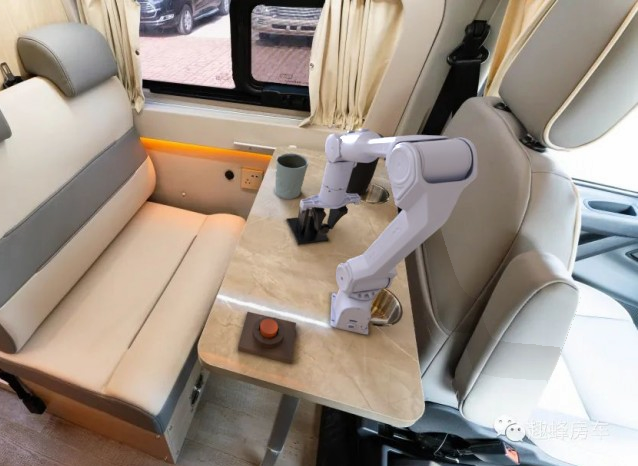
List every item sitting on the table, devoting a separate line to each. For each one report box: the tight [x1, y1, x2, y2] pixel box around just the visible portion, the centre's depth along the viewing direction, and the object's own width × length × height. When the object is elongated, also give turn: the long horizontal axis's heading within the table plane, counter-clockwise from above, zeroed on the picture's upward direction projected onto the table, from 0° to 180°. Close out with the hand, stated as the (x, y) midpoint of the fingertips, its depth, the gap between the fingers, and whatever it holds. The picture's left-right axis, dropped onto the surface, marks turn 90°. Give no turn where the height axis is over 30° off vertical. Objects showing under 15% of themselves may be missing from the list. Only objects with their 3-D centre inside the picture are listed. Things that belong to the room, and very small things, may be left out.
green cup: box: [274, 152, 309, 200], centre depth 109 cm, size 10×10×12 cm
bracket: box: [285, 206, 329, 246], centre depth 94 cm, size 11×9×10 cm
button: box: [260, 319, 278, 338], centre depth 68 cm, size 4×4×2 cm
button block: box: [237, 311, 297, 365], centre depth 70 cm, size 11×9×4 cm
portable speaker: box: [346, 132, 385, 197], centre depth 106 cm, size 9×9×20 cm
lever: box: [308, 208, 331, 235], centre depth 88 cm, size 12×3×3 cm, turn 9°
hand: (323, 227), depth 85 cm, fingers closed on lever, 3 cm apart
